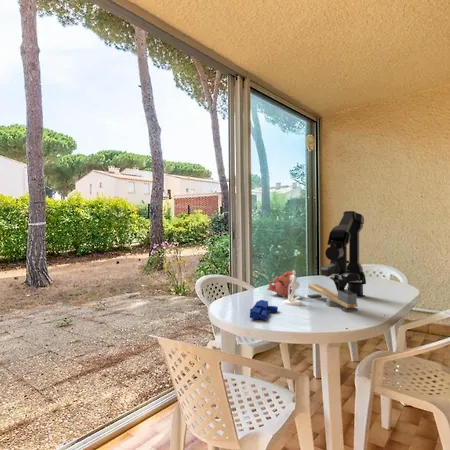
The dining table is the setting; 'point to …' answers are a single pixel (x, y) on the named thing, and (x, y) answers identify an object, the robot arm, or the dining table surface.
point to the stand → (334, 303)
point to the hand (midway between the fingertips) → (339, 294)
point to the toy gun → (262, 310)
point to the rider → (347, 296)
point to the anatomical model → (281, 284)
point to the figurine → (294, 286)
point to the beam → (329, 295)
